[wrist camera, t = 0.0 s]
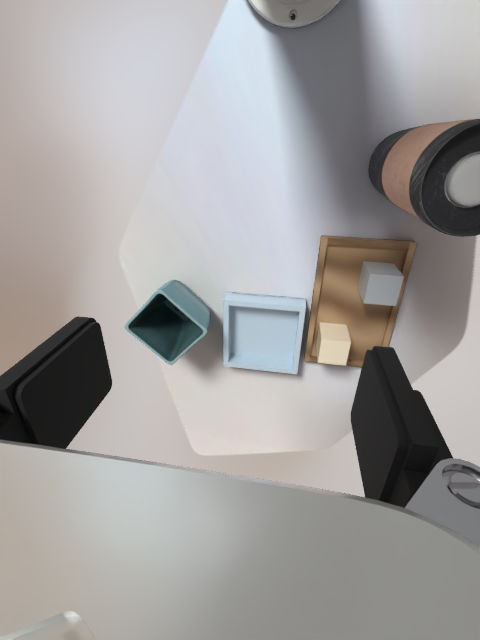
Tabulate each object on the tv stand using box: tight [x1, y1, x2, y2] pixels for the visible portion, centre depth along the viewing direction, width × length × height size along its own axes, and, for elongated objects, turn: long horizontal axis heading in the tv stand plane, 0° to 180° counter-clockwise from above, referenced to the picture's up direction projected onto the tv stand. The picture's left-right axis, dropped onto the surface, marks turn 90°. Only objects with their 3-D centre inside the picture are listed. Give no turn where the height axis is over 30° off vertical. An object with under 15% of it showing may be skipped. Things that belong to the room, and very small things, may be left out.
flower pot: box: [125, 280, 210, 365], centre depth 49 cm, size 9×9×9 cm
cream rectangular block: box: [316, 322, 351, 366], centre depth 49 cm, size 4×4×5 cm
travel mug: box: [369, 119, 480, 237], centre depth 31 cm, size 8×8×20 cm
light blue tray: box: [223, 292, 306, 374], centre depth 52 cm, size 12×12×3 cm
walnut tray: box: [304, 236, 417, 367], centre depth 48 cm, size 20×12×1 cm, turn 179°
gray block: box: [358, 261, 404, 306], centre depth 43 cm, size 4×4×5 cm
